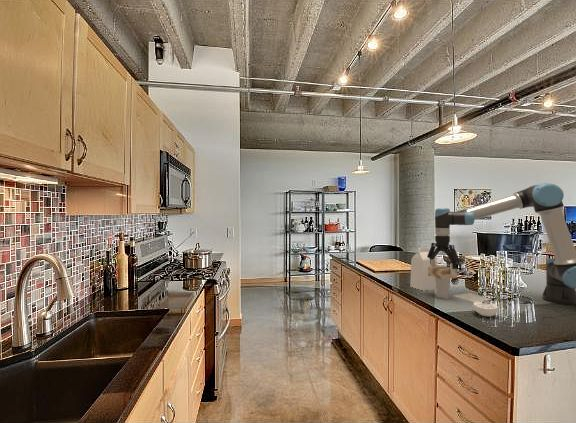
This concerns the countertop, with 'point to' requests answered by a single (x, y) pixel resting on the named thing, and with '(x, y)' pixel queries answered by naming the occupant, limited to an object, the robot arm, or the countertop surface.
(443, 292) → the cup
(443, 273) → the bread bun
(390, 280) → the countertop surface
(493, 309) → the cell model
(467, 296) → the mat
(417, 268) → the milk
